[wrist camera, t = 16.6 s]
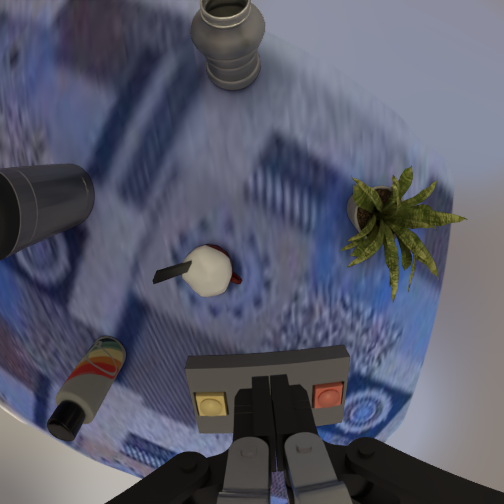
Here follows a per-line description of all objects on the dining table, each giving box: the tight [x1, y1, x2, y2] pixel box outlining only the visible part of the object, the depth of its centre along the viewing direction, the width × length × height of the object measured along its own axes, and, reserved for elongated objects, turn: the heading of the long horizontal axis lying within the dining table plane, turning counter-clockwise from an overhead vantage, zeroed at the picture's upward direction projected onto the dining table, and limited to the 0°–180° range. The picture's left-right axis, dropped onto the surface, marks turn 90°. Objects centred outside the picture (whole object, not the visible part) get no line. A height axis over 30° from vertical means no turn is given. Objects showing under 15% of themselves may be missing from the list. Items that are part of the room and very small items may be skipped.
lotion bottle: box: [47, 336, 126, 441], centre depth 38 cm, size 6×6×20 cm
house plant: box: [341, 166, 466, 301], centre depth 34 cm, size 14×14×16 cm
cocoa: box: [153, 244, 242, 297], centre depth 38 cm, size 10×6×12 cm, turn 43°
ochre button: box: [196, 392, 227, 416], centre depth 47 cm, size 4×4×4 cm
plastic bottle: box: [190, 0, 265, 90], centre depth 28 cm, size 6×7×20 cm
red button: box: [312, 381, 343, 409], centre depth 47 cm, size 4×4×4 cm
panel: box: [185, 345, 350, 433], centre depth 48 cm, size 24×14×4 cm, turn 94°
